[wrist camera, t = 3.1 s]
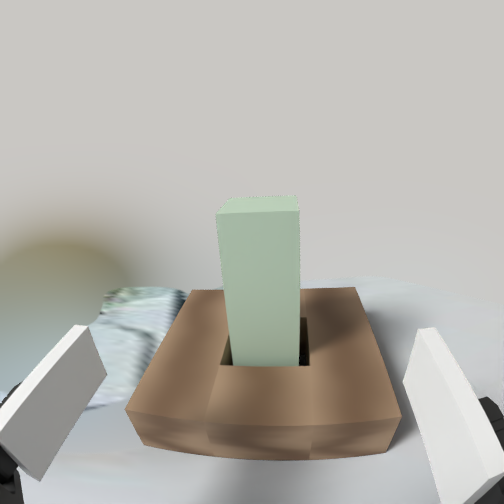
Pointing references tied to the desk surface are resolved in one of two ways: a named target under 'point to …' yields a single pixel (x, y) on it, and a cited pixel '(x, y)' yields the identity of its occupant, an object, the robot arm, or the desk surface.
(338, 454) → the pocket dock
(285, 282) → the sage block
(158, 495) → the desk surface
